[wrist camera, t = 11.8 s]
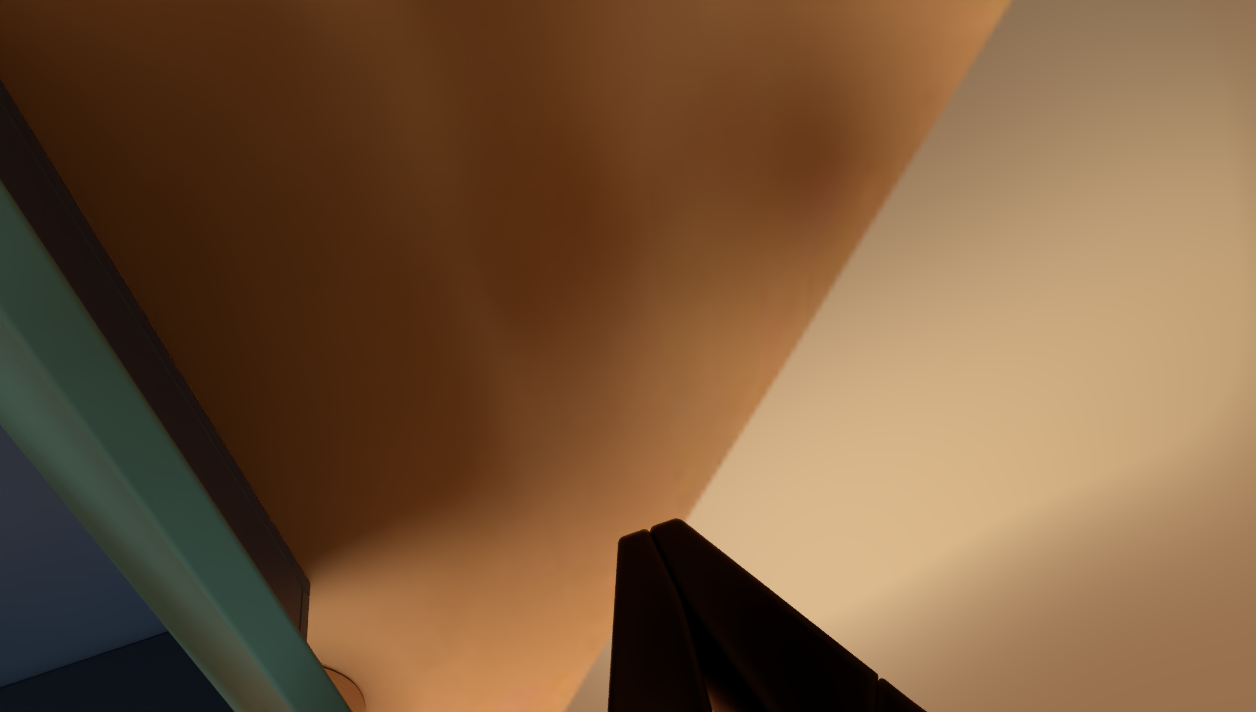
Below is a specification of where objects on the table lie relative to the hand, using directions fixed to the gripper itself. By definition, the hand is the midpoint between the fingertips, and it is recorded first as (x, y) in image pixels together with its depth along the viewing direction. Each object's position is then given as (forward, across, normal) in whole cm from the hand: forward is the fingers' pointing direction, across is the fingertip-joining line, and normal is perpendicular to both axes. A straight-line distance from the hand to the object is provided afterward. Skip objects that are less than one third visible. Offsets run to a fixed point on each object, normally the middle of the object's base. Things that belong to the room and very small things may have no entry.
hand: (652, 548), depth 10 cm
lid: (+1, +6, 0) cm, 6 cm away
